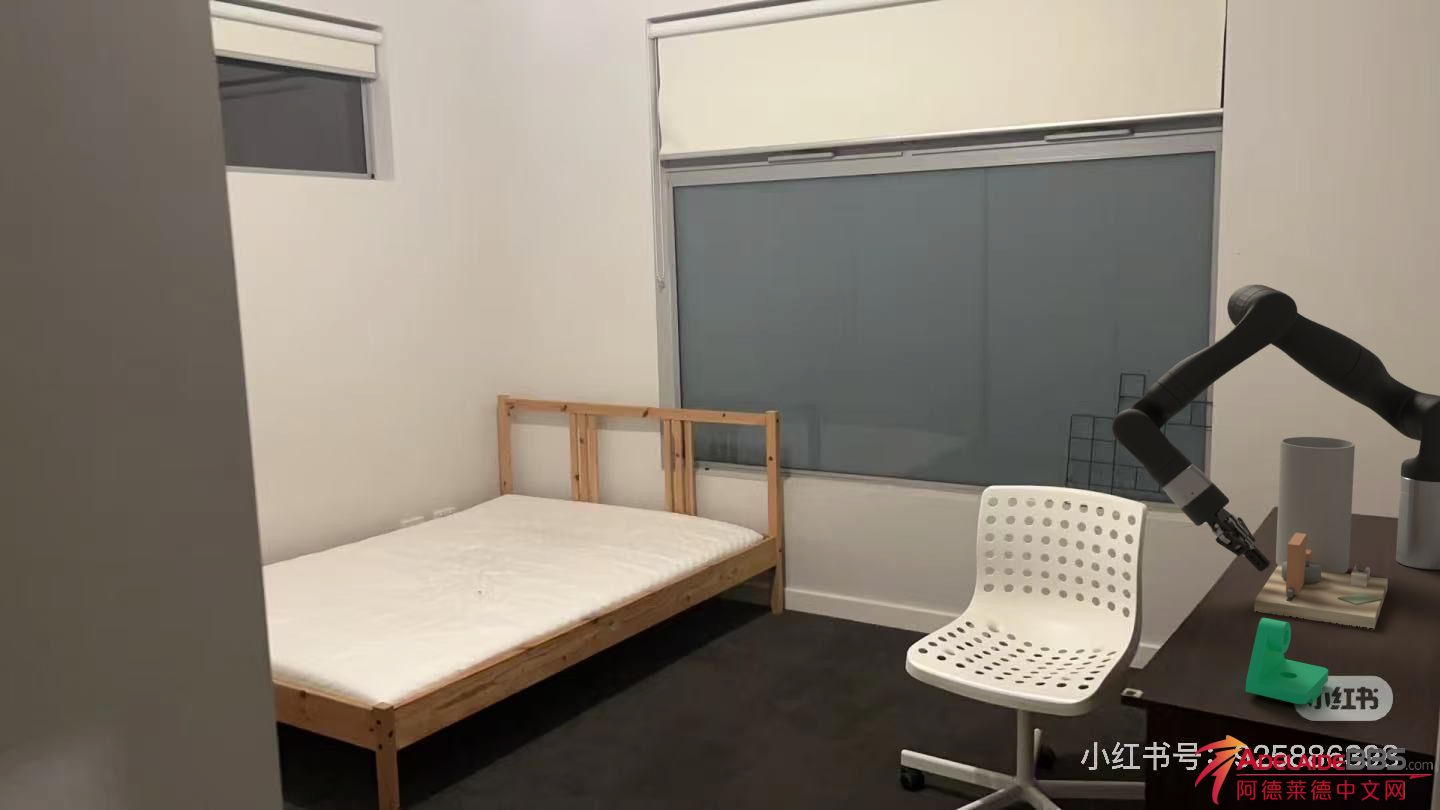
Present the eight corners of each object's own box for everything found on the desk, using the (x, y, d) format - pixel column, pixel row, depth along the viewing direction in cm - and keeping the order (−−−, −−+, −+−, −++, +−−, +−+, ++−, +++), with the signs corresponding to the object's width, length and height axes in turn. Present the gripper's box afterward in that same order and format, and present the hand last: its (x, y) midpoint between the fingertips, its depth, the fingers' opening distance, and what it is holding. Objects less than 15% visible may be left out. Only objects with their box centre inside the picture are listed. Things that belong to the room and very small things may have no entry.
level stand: (1277, 575, 209) (1278, 546, 208) (1388, 589, 198) (1390, 559, 197) (1254, 611, 189) (1255, 580, 189) (1375, 629, 179) (1377, 596, 178)
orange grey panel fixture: (1286, 567, 205) (1288, 521, 204) (1324, 572, 202) (1327, 525, 200) (1268, 595, 190) (1270, 545, 189) (1310, 601, 186) (1312, 550, 185)
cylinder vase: (1352, 580, 204) (1359, 449, 201) (1278, 574, 209) (1283, 446, 205) (1344, 562, 215) (1350, 437, 212) (1273, 557, 220) (1278, 435, 217)
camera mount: (1303, 713, 150) (1306, 641, 148) (1245, 698, 155) (1247, 629, 153) (1329, 686, 158) (1332, 618, 157) (1273, 673, 163) (1275, 607, 162)
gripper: (1203, 489, 194) (1276, 565, 189) (1218, 475, 205) (1288, 546, 200) (1171, 514, 198) (1242, 589, 193) (1188, 499, 209) (1256, 570, 203)
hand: (1265, 567), depth 196 cm, fingers closed
